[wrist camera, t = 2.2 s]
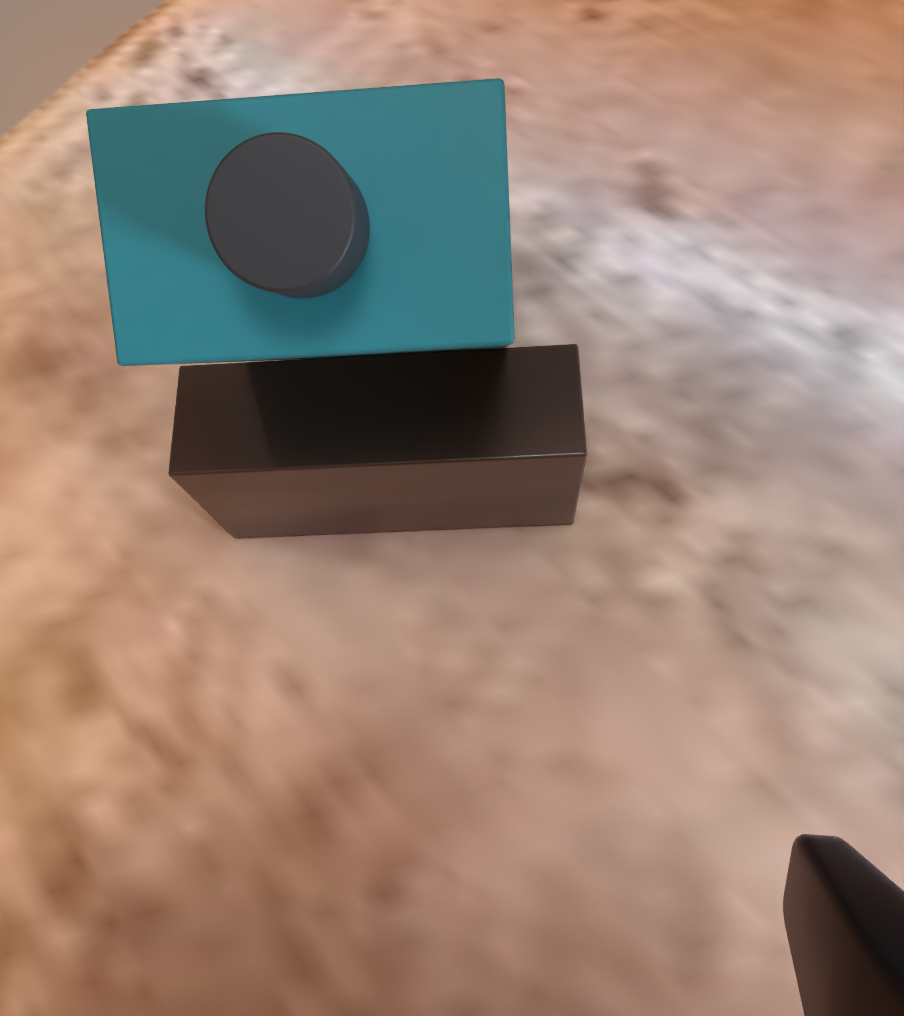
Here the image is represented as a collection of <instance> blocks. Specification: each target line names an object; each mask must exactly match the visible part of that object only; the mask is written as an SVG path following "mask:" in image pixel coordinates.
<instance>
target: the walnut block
mask: <svg viewBox="0 0 904 1016" xmlns="http://www.w3.org/2000/svg"><path fill="white" fill-rule="evenodd" d="M586 456H587V448H586V436H585V424H584V412H583V399H582V387H581V375H580V363H579V351H578V346H577V345H576V344H570V345H552V346H534V347H516V348H498V349H480V350H462V351H444V352H426V353H408V354H390V355H372V356H354V357H336V358H318V359H300V360H282V361H264V362H246V363H228V364H210V365H192V366H181V367H180V369H179V378H178V388H177V397H176V407H175V416H174V426H173V435H172V445H171V454H170V464H169V476H170V477H171V478H172V479H173V480H174V481H176V482H177V483H178V484H179V485H180V486H181V487H182V488H183V489H184V490H185V491H186V492H187V493H188V494H189V495H190V496H191V497H192V498H193V499H194V500H195V501H196V502H197V503H198V504H199V505H200V506H201V507H203V508H204V509H205V510H206V511H207V512H208V513H209V514H210V515H211V516H212V517H213V518H214V519H215V520H216V521H217V522H218V523H219V524H220V525H221V526H222V527H223V528H224V529H225V530H226V531H227V532H228V533H230V534H231V535H232V536H233V537H234V538H250V537H274V536H297V535H321V534H345V533H368V532H392V531H416V530H439V529H463V528H487V527H510V526H534V525H558V524H572V523H573V522H574V517H575V512H576V507H577V502H578V497H579V491H580V486H581V481H582V476H583V471H584V466H585V461H586Z"/></svg>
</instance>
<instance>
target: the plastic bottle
mask: <svg viewBox="0 0 904 1016" xmlns="http://www.w3.org/2000/svg"><path fill="white" fill-rule="evenodd" d="M86 116H87V124H88V132H89V140H90V148H91V156H92V164H93V172H94V180H95V188H96V196H97V203H98V211H99V219H100V227H101V235H102V243H103V251H104V259H105V267H106V275H107V283H108V291H109V299H110V307H111V315H112V323H113V331H114V339H115V347H116V355H117V362H118V364H119V365H122V366H134V365H160V364H186V363H212V362H238V361H264V360H290V359H311V358H329V357H347V356H365V355H383V354H401V353H419V352H437V351H455V350H473V349H491V348H504V347H506V346H508V345H510V344H512V343H513V342H514V313H513V288H512V263H511V238H510V213H509V188H508V163H507V138H506V113H505V88H504V82H503V80H502V79H485V80H472V81H459V82H446V83H433V84H419V85H406V86H393V87H380V88H366V89H353V90H340V91H327V92H313V93H300V94H287V95H274V96H261V97H247V98H234V99H221V100H208V101H194V102H181V103H168V104H155V105H141V106H128V107H115V108H102V109H90V110H88V111H87V113H86Z"/></svg>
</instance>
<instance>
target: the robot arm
mask: <svg viewBox="0 0 904 1016" xmlns="http://www.w3.org/2000/svg"><path fill="white" fill-rule="evenodd" d="M783 913H784V922H785V927H786V931H787V936H788V941H789V945H790V950H791V955H792V959H793V964H794V969H795V973H796V978H797V983H798V987H799V992H800V996H801V1001H802V1006H803V1010H804V1015H805V1016H904V891H903V890H902V889H901V888H900V887H898V886H897V885H896V884H895V883H894V882H893V881H891V880H890V879H889V878H888V877H887V876H886V875H884V874H883V873H882V872H881V871H880V870H879V869H877V868H876V867H875V866H874V865H873V864H872V863H870V862H869V861H868V860H867V859H866V858H865V857H863V856H862V855H861V854H860V853H859V852H858V851H857V850H855V849H854V848H853V847H852V846H851V845H850V844H848V843H847V842H846V841H844V840H843V839H841V838H839V837H836V836H825V835H809V834H802V835H800V836H798V837H797V838H796V839H795V841H794V843H793V846H792V851H791V857H790V863H789V868H788V874H787V880H786V886H785V891H784V898H783Z"/></svg>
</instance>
